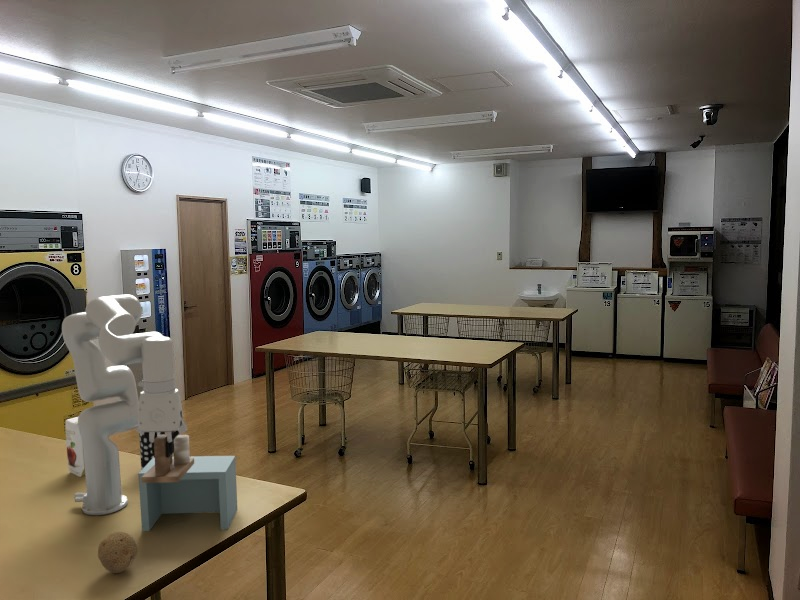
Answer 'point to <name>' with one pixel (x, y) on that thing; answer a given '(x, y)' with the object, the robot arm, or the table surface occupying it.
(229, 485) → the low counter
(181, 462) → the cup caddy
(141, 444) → the white-spotted black cylinder
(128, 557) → the natural sponge
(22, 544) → the table surface
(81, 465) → the juice carton
